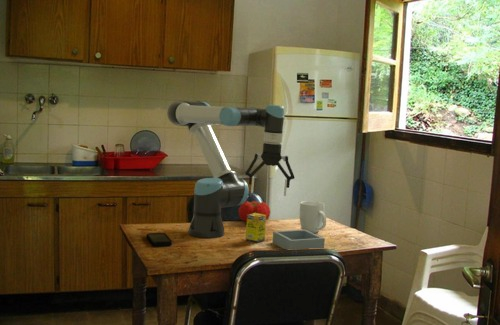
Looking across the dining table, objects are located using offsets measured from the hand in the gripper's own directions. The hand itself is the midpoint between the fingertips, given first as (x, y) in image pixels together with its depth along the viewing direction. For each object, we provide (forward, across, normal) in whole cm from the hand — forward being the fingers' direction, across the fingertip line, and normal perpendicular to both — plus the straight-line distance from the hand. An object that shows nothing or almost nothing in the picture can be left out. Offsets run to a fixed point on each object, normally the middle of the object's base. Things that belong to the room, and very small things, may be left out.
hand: (268, 194), depth 228 cm
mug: (+20, +21, +19) cm, 34 cm away
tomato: (+20, -6, +31) cm, 38 cm away
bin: (+19, +14, -7) cm, 24 cm away
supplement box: (+20, -4, -3) cm, 20 cm away
